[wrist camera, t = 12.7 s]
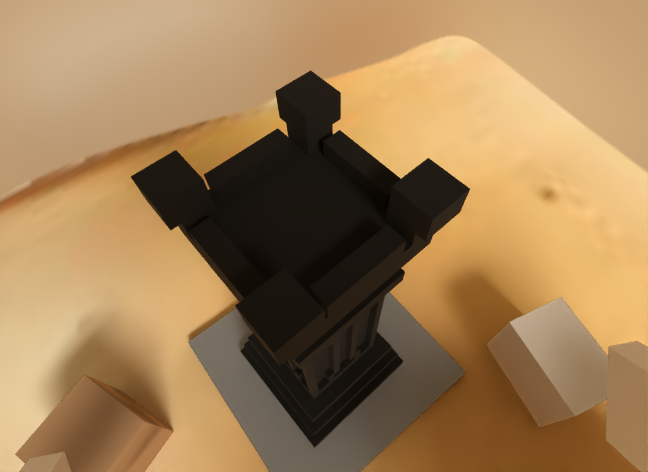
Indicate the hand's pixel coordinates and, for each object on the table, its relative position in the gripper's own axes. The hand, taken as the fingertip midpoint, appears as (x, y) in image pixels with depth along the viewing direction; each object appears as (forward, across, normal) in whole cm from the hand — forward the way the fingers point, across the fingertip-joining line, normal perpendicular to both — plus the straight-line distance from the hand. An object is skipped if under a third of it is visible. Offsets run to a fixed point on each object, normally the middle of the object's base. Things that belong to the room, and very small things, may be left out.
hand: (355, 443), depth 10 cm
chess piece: (+18, 0, -8) cm, 20 cm away
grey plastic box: (+16, +14, -11) cm, 24 cm away
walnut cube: (+17, -14, -11) cm, 24 cm away
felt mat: (+19, 0, -8) cm, 21 cm away
